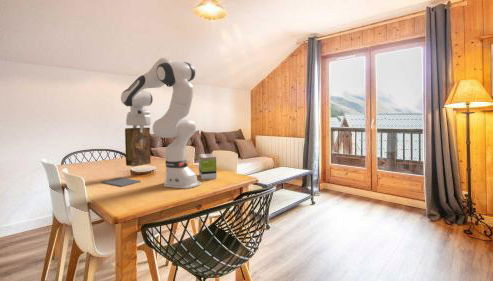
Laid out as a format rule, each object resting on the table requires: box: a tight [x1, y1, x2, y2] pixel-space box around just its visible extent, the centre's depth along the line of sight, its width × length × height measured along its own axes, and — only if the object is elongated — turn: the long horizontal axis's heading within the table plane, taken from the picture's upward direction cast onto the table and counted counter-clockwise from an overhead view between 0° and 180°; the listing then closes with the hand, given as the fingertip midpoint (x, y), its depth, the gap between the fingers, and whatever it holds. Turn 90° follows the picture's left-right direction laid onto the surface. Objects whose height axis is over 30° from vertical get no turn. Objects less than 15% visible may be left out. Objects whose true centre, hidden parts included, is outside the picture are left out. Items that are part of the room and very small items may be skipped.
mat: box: [100, 176, 141, 188], centre depth 159 cm, size 20×13×1 cm, turn 62°
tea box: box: [198, 153, 217, 181], centre depth 173 cm, size 15×10×15 cm, turn 17°
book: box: [124, 127, 151, 168], centre depth 174 cm, size 16×6×25 cm, turn 151°
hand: (138, 132), depth 174 cm, fingers closed on book, 3 cm apart
